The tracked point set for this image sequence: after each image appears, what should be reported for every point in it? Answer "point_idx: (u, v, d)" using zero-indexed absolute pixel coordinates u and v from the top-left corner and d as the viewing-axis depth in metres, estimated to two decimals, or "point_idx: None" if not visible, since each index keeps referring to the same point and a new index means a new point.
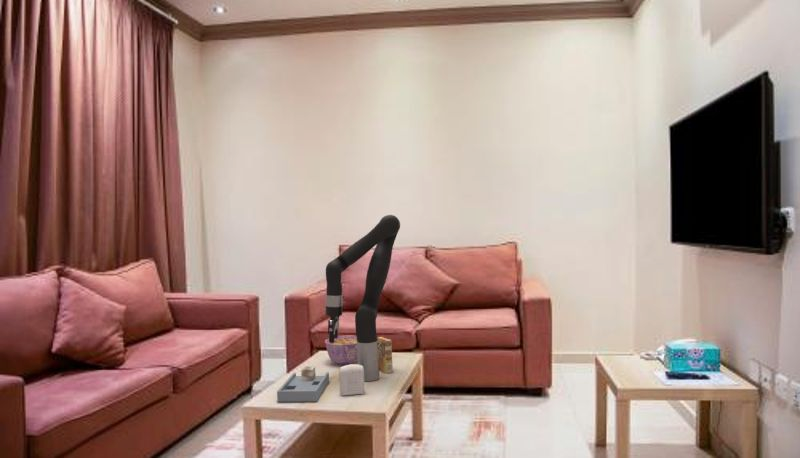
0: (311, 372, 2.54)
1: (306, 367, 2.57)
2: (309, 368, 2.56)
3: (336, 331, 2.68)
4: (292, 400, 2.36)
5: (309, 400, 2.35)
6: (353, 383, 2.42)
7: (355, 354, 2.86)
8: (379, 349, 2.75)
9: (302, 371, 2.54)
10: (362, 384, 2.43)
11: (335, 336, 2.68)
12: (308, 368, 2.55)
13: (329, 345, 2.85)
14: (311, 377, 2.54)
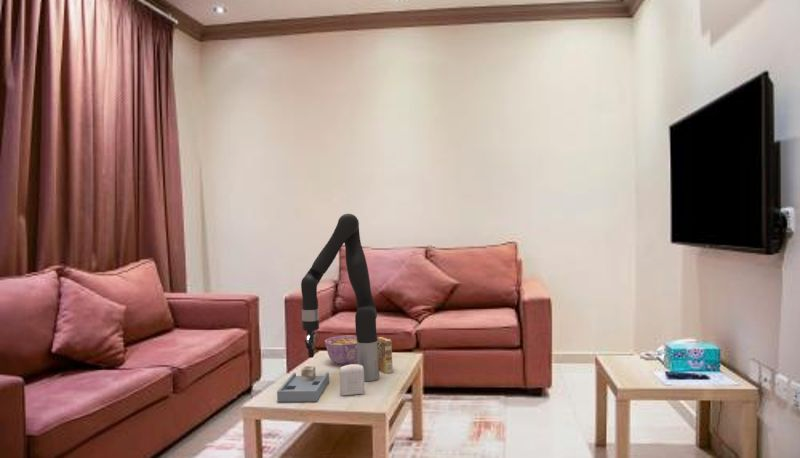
0: (311, 372, 2.54)
1: (306, 367, 2.57)
2: (309, 368, 2.56)
3: None
4: (292, 400, 2.36)
5: (309, 400, 2.35)
6: (353, 383, 2.42)
7: (355, 354, 2.86)
8: (379, 349, 2.75)
9: (302, 371, 2.54)
10: (362, 384, 2.43)
11: None
12: (308, 368, 2.55)
13: (329, 345, 2.85)
14: (311, 377, 2.54)
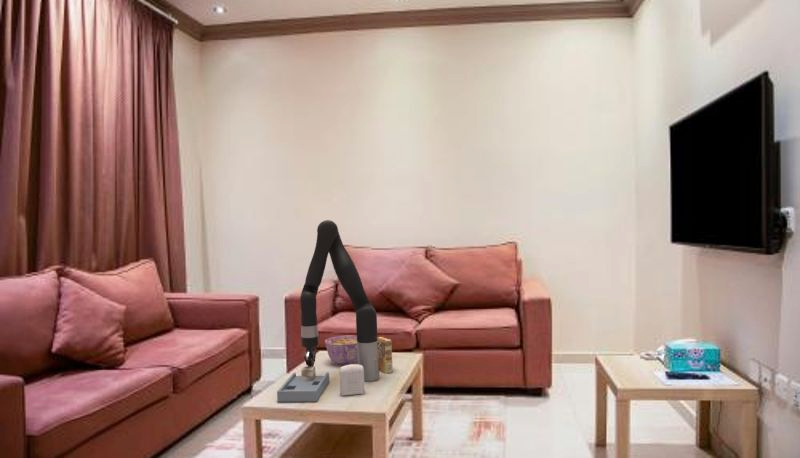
0: (311, 372, 2.54)
1: (306, 367, 2.57)
2: (309, 368, 2.56)
3: None
4: (292, 400, 2.36)
5: (309, 400, 2.35)
6: (353, 383, 2.42)
7: (355, 354, 2.86)
8: (379, 349, 2.75)
9: (302, 371, 2.54)
10: (362, 384, 2.43)
11: None
12: (308, 368, 2.55)
13: (329, 345, 2.85)
14: (311, 377, 2.54)
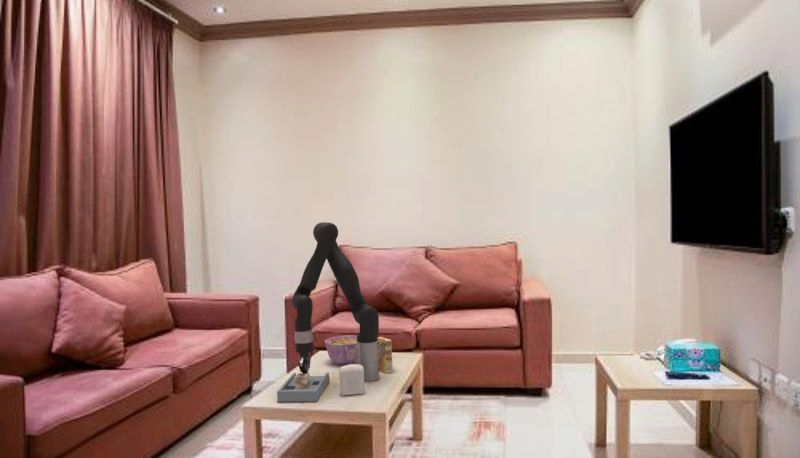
0: (305, 379, 2.43)
1: (300, 374, 2.47)
2: (303, 375, 2.46)
3: None
4: (292, 400, 2.36)
5: (309, 400, 2.35)
6: (353, 383, 2.42)
7: (355, 354, 2.86)
8: (379, 349, 2.75)
9: (295, 378, 2.44)
10: (362, 384, 2.43)
11: None
12: (302, 376, 2.44)
13: (329, 345, 2.85)
14: (305, 385, 2.43)
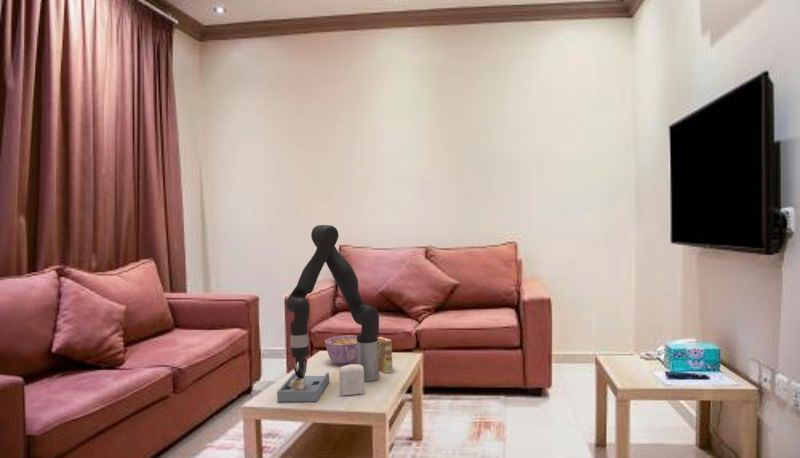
0: (301, 385, 2.36)
1: (296, 379, 2.40)
2: (299, 380, 2.39)
3: (302, 377, 2.44)
4: (292, 400, 2.36)
5: (309, 400, 2.35)
6: (353, 383, 2.42)
7: (355, 354, 2.86)
8: (379, 349, 2.75)
9: (291, 383, 2.37)
10: (362, 384, 2.43)
11: None
12: (298, 381, 2.37)
13: (329, 345, 2.85)
14: (301, 390, 2.36)
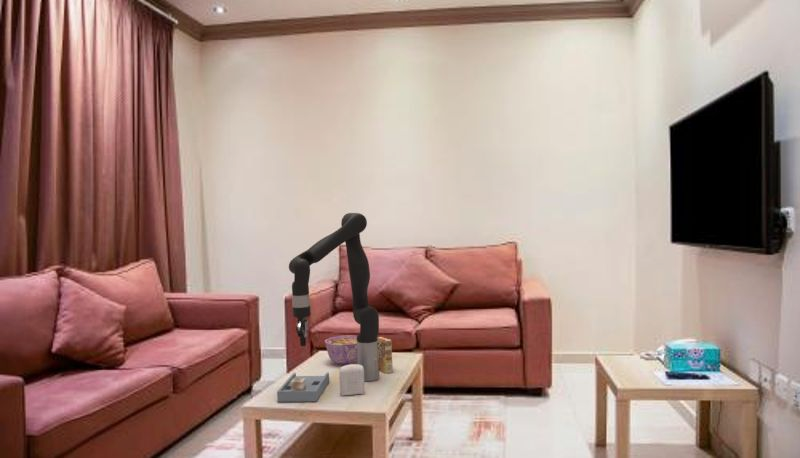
0: (301, 385, 2.36)
1: (296, 379, 2.40)
2: (299, 380, 2.39)
3: None
4: (292, 400, 2.36)
5: (309, 400, 2.35)
6: (353, 383, 2.42)
7: (355, 354, 2.86)
8: (379, 349, 2.75)
9: (291, 383, 2.37)
10: (362, 384, 2.43)
11: None
12: (298, 381, 2.37)
13: (329, 345, 2.85)
14: (301, 390, 2.36)
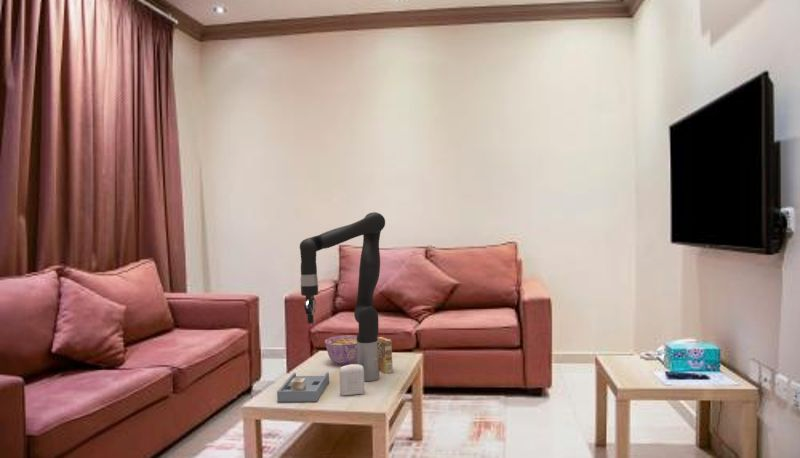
0: (301, 385, 2.36)
1: (296, 379, 2.40)
2: (299, 380, 2.39)
3: None
4: (292, 400, 2.36)
5: (309, 400, 2.35)
6: (353, 383, 2.42)
7: (355, 354, 2.86)
8: (379, 349, 2.75)
9: (291, 383, 2.37)
10: (362, 384, 2.43)
11: None
12: (298, 381, 2.37)
13: (329, 345, 2.85)
14: (301, 390, 2.36)
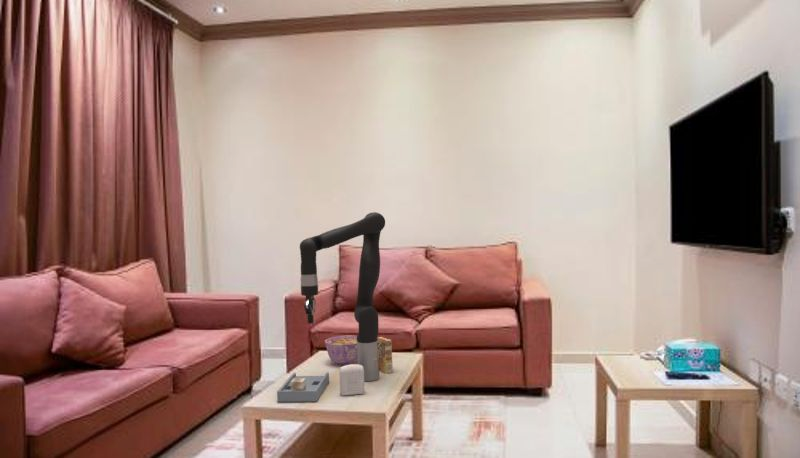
0: (301, 385, 2.36)
1: (296, 379, 2.40)
2: (299, 380, 2.39)
3: None
4: (292, 400, 2.36)
5: (309, 400, 2.35)
6: (353, 383, 2.42)
7: (355, 354, 2.86)
8: (379, 349, 2.75)
9: (291, 383, 2.37)
10: (362, 384, 2.43)
11: None
12: (298, 381, 2.37)
13: (329, 345, 2.85)
14: (301, 390, 2.36)
